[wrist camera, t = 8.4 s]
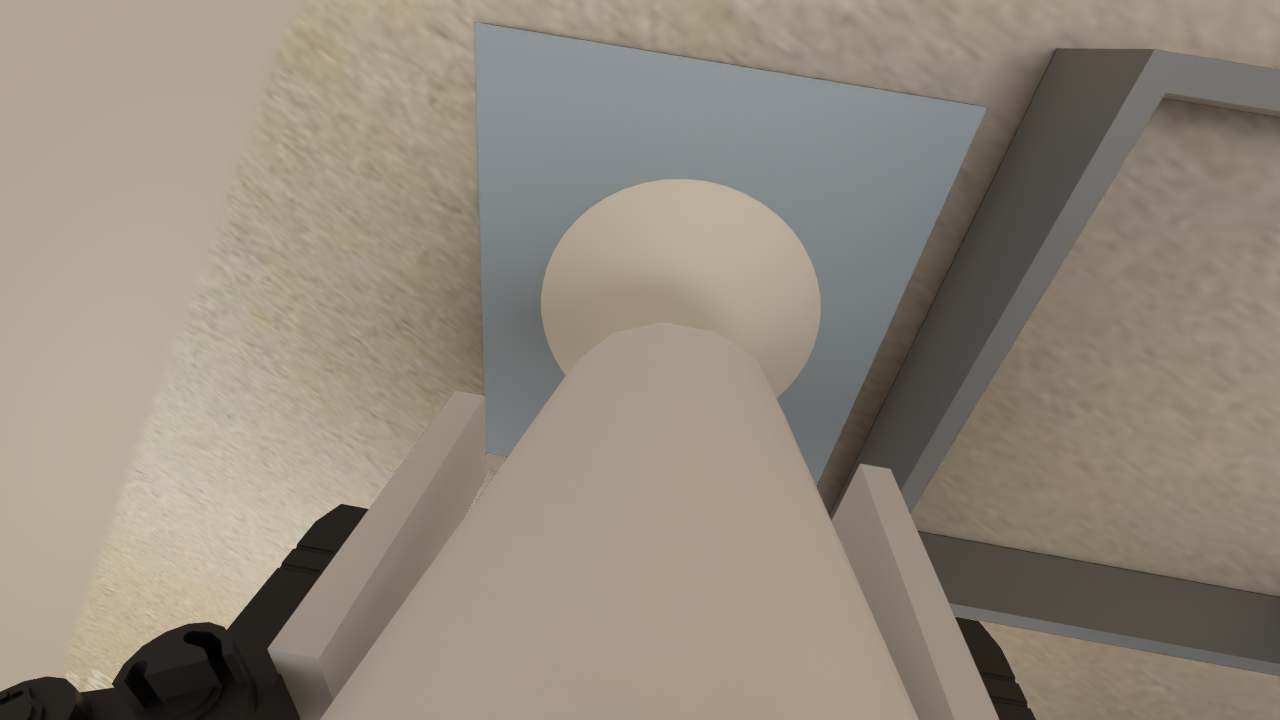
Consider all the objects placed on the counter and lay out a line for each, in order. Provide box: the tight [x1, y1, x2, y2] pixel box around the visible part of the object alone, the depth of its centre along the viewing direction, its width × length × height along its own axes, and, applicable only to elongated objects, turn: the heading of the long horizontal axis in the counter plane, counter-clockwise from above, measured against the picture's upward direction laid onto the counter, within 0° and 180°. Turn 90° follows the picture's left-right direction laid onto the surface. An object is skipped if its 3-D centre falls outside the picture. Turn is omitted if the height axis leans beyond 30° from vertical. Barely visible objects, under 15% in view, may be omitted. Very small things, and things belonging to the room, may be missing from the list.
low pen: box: [829, 48, 1280, 676], centre depth 19 cm, size 22×25×4 cm
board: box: [474, 22, 987, 487], centre depth 21 cm, size 18×16×1 cm
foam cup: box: [320, 322, 919, 720], centre depth 10 cm, size 10×9×13 cm
